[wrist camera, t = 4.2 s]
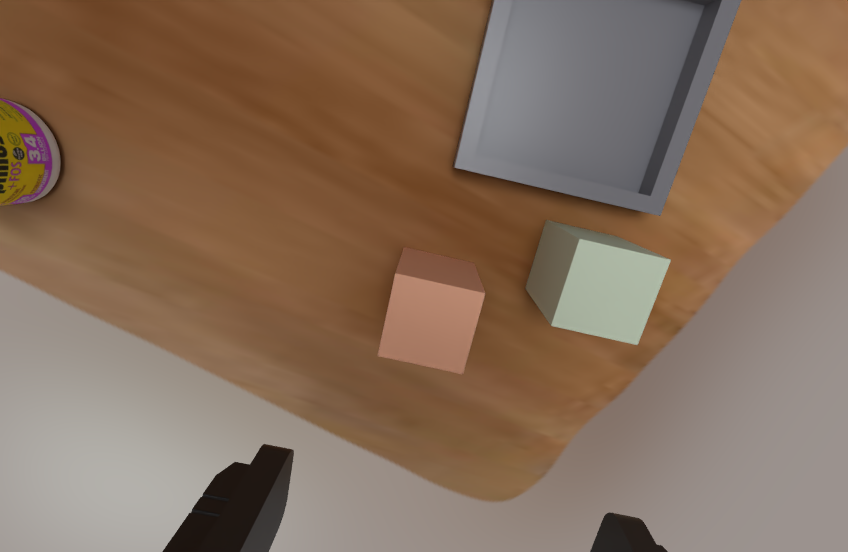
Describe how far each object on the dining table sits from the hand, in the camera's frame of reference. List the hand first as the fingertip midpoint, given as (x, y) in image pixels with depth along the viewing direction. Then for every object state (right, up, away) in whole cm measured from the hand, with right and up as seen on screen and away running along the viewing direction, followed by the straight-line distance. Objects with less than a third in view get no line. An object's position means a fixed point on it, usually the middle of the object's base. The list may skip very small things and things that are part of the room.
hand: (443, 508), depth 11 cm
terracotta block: (0, +5, +20) cm, 21 cm away
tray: (+9, +18, +16) cm, 26 cm away
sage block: (+10, +7, +19) cm, 23 cm away
